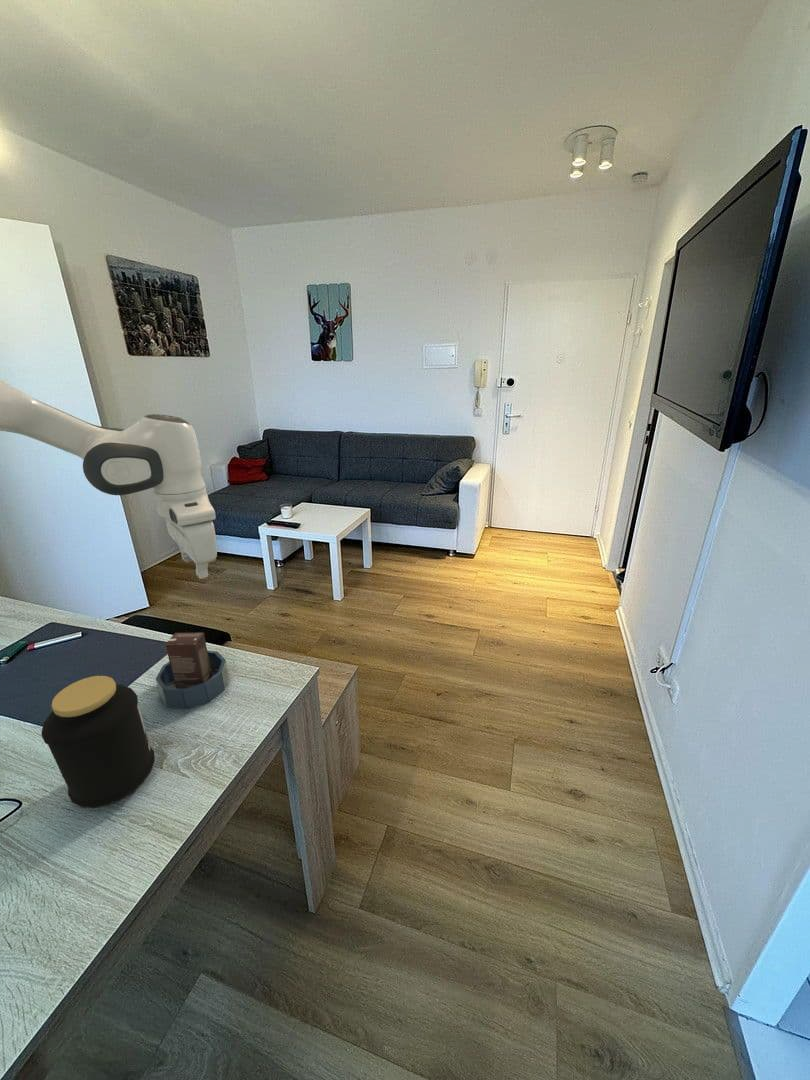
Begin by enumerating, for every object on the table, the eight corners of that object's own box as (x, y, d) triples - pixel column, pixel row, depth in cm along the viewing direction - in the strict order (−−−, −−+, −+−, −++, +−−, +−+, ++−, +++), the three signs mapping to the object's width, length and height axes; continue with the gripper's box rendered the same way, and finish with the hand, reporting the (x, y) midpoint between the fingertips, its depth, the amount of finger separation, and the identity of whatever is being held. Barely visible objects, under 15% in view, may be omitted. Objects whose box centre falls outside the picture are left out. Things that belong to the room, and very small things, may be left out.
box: (214, 679, 92) (204, 631, 87) (205, 694, 88) (195, 644, 83) (185, 679, 92) (174, 631, 87) (175, 694, 88) (163, 644, 83)
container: (65, 776, 70) (30, 688, 63) (148, 738, 77) (125, 655, 70) (73, 834, 61) (33, 739, 55) (165, 785, 69) (140, 696, 62)
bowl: (151, 713, 83) (146, 694, 81) (173, 669, 95) (169, 652, 93) (219, 705, 85) (216, 687, 83) (232, 663, 97) (230, 647, 95)
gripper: (151, 493, 87) (164, 556, 92) (180, 520, 73) (194, 592, 78) (184, 488, 91) (195, 548, 96) (218, 513, 77) (229, 582, 82)
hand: (195, 568), depth 87 cm, fingers open, 8 cm apart
